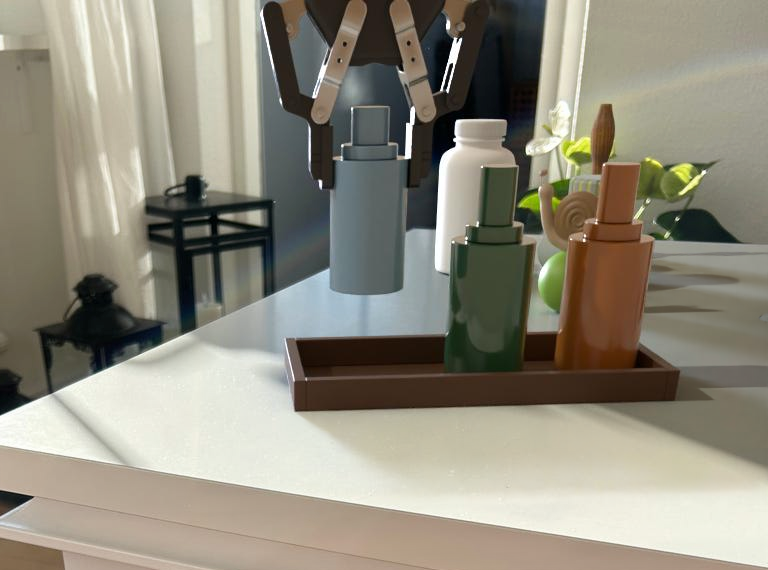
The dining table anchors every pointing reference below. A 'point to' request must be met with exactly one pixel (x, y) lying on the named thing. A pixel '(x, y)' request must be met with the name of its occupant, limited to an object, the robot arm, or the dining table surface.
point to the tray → (455, 376)
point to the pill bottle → (465, 179)
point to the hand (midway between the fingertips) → (369, 186)
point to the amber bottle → (605, 280)
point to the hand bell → (602, 137)
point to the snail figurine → (560, 235)
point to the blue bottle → (368, 208)
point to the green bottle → (490, 282)
